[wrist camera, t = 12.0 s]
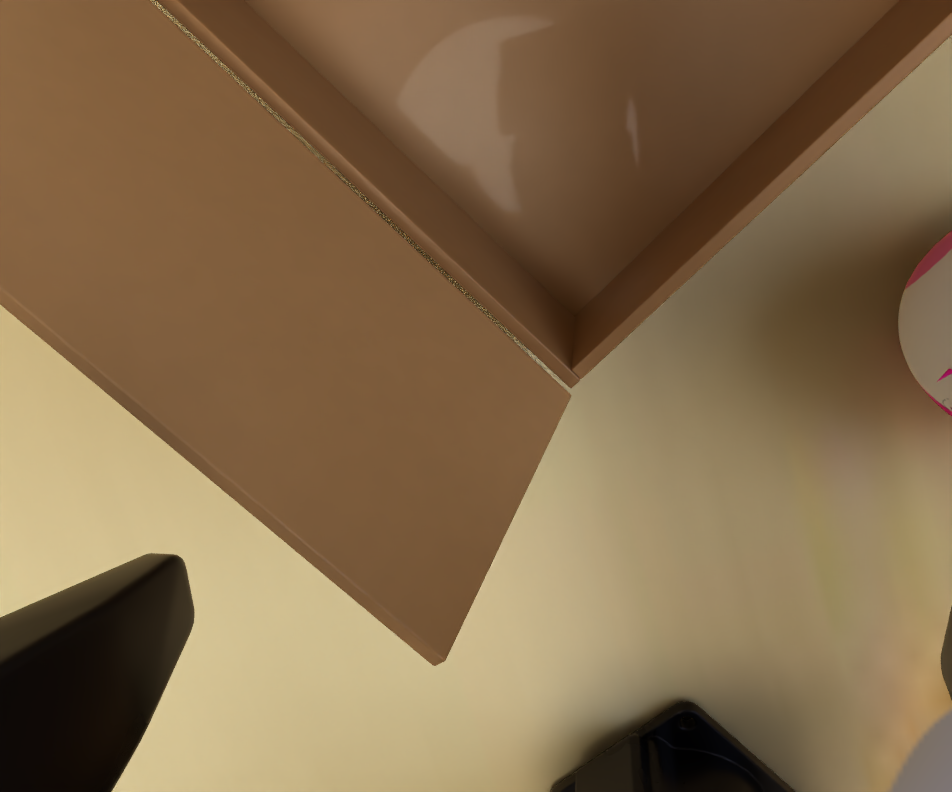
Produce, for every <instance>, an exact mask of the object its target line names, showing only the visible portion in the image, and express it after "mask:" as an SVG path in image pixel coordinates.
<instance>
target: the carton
mask: <svg viewBox="0 0 952 792" xmlns="http://www.w3.org/2000/svg"><path fill="white" fill-rule="evenodd" d="M157 1H158V2H159V3H160V4H161V5H162V6H163V7H164V8H165V9H166V10H167V11H168V12H170V13H171V14H172V15H173V16H174V17H175V18H176V19H177V20H178V21H179V22H180V23H181V24H182V25H183V26H184V27H186V28H187V29H188V30H189V31H190V32H191V33H192V34H193V35H194V36H195V37H196V38H197V39H198V40H199V41H200V42H202V43H203V44H204V45H205V46H206V47H207V48H208V49H209V50H210V51H211V52H212V53H213V54H214V55H215V56H216V57H218V58H219V59H220V60H221V61H222V62H223V63H224V64H225V65H226V66H227V67H228V68H229V69H230V70H231V71H232V72H234V73H235V74H236V75H237V76H238V77H239V78H240V79H241V80H242V81H243V82H244V83H245V84H246V85H247V86H248V87H250V88H251V89H252V90H253V91H254V92H255V93H256V94H257V95H258V96H259V97H260V98H261V99H262V100H263V101H264V102H266V103H267V104H268V105H269V106H270V107H271V108H272V109H273V110H274V111H275V112H276V113H277V114H278V115H279V116H280V117H282V118H283V119H284V120H285V121H286V122H287V123H288V124H289V125H290V126H291V127H292V128H293V129H294V130H295V131H296V132H298V133H299V134H300V135H301V136H302V137H303V138H304V139H305V140H306V141H307V142H308V143H309V144H310V145H311V146H312V147H314V148H315V149H316V150H317V151H318V152H319V153H320V154H321V155H322V156H323V157H324V158H325V159H326V160H327V161H328V162H330V163H331V164H332V165H333V166H334V167H335V168H336V169H337V170H338V171H339V172H340V173H341V174H342V175H343V176H344V177H346V178H347V179H348V180H349V181H350V182H351V183H352V184H353V185H354V186H355V187H356V188H357V189H358V190H359V191H360V192H362V193H363V194H364V195H365V196H366V197H367V198H368V199H369V200H370V201H371V202H372V203H373V204H374V205H375V206H376V207H378V208H379V209H380V210H381V211H382V212H383V213H384V214H385V215H386V216H387V217H388V218H389V219H390V220H391V221H392V222H394V223H395V224H396V225H397V226H398V227H399V228H400V229H401V230H402V231H403V232H404V233H405V234H406V235H407V236H408V237H410V238H411V239H412V240H413V241H414V242H415V243H416V244H417V245H418V246H419V247H420V248H421V249H422V250H423V251H424V252H426V253H427V254H428V255H429V256H430V257H431V258H432V259H433V260H434V261H435V262H436V263H437V264H438V265H439V266H440V267H442V268H443V269H444V270H445V271H446V272H447V273H448V274H449V275H450V276H451V277H452V278H453V279H454V280H455V281H456V282H458V283H459V284H460V285H461V286H462V287H463V288H464V289H465V290H466V291H467V292H468V293H469V294H470V295H471V296H472V297H474V298H475V299H476V300H477V301H478V302H479V303H480V304H481V305H482V306H483V307H484V308H485V309H486V310H487V311H488V312H490V313H491V314H492V315H493V316H494V317H495V318H496V319H497V320H498V321H499V322H500V323H501V324H502V325H503V326H504V327H506V328H507V329H508V330H509V331H510V332H511V333H512V334H513V335H514V336H515V337H516V338H517V339H518V340H519V341H520V342H522V343H523V344H524V345H525V346H526V347H527V348H528V349H529V350H530V351H531V352H532V353H533V354H534V355H535V356H536V357H538V358H539V359H540V360H541V361H542V362H543V363H544V364H545V365H546V366H547V367H548V368H549V369H550V370H551V371H552V372H554V373H555V374H556V375H557V376H558V377H559V378H560V379H561V380H562V381H563V382H564V383H565V384H566V385H567V386H568V387H570V388H572V387H573V386H574V385H576V384H577V383H578V382H579V381H580V379H582V378H583V377H584V376H585V375H586V374H587V373H588V372H589V371H591V370H592V369H593V368H594V367H595V366H596V365H597V364H598V363H599V362H600V361H601V360H602V359H603V358H605V357H606V356H607V355H608V354H609V353H610V352H611V351H612V350H613V349H614V348H615V347H616V346H617V345H619V344H620V343H621V342H622V341H623V340H624V339H625V338H626V337H627V336H628V335H629V334H630V333H631V332H633V331H634V330H635V329H636V328H637V327H638V326H639V325H640V324H641V323H642V322H643V321H644V320H645V319H646V318H648V317H649V316H650V315H651V314H652V313H653V312H654V311H655V310H656V309H657V308H658V307H659V306H660V305H662V304H663V303H664V302H665V301H666V300H667V299H668V298H669V297H670V296H671V295H672V294H673V293H674V292H676V291H677V290H678V289H679V288H680V287H681V286H682V285H683V284H684V283H685V282H686V281H687V280H688V279H690V278H691V277H692V276H693V275H694V274H695V273H696V272H697V271H698V270H699V269H700V268H701V267H702V266H704V265H705V264H706V263H707V262H708V261H709V260H710V259H711V258H712V257H713V256H714V255H715V254H716V253H717V252H719V251H720V250H721V249H722V248H723V247H724V246H725V245H726V244H727V243H728V242H729V241H730V240H731V239H733V238H734V237H735V236H736V235H737V234H738V233H739V232H740V231H741V230H742V229H743V228H744V227H745V226H747V225H748V224H749V223H750V222H751V221H752V220H753V219H754V218H755V217H756V216H757V215H758V214H759V213H761V212H762V211H763V210H764V209H765V208H766V207H767V206H768V205H769V204H770V203H771V202H772V201H773V200H774V199H776V198H777V197H778V196H779V195H780V194H781V193H782V192H783V191H784V190H785V189H786V188H787V187H788V186H790V185H791V184H792V183H793V182H794V181H795V180H796V179H797V178H798V177H799V176H800V175H801V174H802V173H804V172H805V171H806V170H807V169H808V168H809V167H810V166H811V165H812V164H813V163H814V162H815V161H816V160H818V159H819V158H820V157H821V156H822V155H823V154H824V153H825V152H826V151H827V150H828V149H829V148H830V147H832V146H833V145H834V144H835V143H836V142H837V141H838V140H839V139H840V138H841V137H842V136H843V135H844V134H845V133H847V132H848V131H849V130H850V129H851V128H852V127H853V126H854V125H855V124H856V123H857V122H858V121H859V120H861V119H862V118H863V117H864V116H865V115H866V114H867V113H868V112H869V111H870V110H871V109H872V108H873V107H875V106H876V105H877V104H878V103H879V102H880V101H881V100H882V99H883V98H884V97H885V96H886V95H887V94H889V93H890V92H891V91H892V90H893V89H894V88H895V87H896V86H897V85H898V84H899V83H900V82H901V81H902V80H904V79H905V78H906V77H907V76H908V75H909V74H910V73H911V72H912V71H913V70H914V69H915V68H916V67H918V66H919V65H920V64H921V63H922V62H923V61H924V60H925V59H926V58H927V57H928V56H929V55H930V54H932V53H933V52H934V51H935V50H936V49H937V48H938V47H939V46H940V45H941V44H942V43H943V42H944V41H946V40H947V39H948V38H949V37H950V36H951V35H952V0H157Z"/></svg>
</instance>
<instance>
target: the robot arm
mask: <svg viewBox="0 0 952 792" xmlns="http://www.w3.org/2000/svg"><path fill="white" fill-rule="evenodd" d="M193 623H194V605H193V600H192V595H191V590H190V585H189V580H188V575H187V570H186V566H185V563H184V561H183V559H182V558H181V557H179V556H178V555H173V554H153V553H151V554H146V555H143V556H141V557H139V558H136V559H134V560H132V561H129V562H127V563H125V564H122V565H120V566H118V567H116V568H113V569H111V570H109V571H106V572H104V573H102V574H99V575H97V576H95V577H93V578H90V579H88V580H86V581H83V582H81V583H79V584H76V585H74V586H72V587H70V588H67V589H65V590H63V591H60V592H58V593H56V594H53V595H51V596H49V597H47V598H44V599H42V600H40V601H37V602H35V603H33V604H30V605H28V606H26V607H24V608H21V609H19V610H17V611H14V612H12V613H10V614H7V615H5V616H3V617H1V618H0V792H112V790H113V788H114V787H115V785H116V783H117V781H118V780H119V778H120V776H121V775H122V773H123V771H124V769H125V768H126V766H127V764H128V762H129V761H130V759H131V757H132V755H133V754H134V752H135V750H136V748H137V746H138V744H139V743H140V741H141V739H142V737H143V735H144V733H145V731H146V729H147V727H148V725H149V723H150V721H151V719H152V716H153V714H154V712H155V710H156V708H157V705H158V703H159V701H160V699H161V697H162V694H163V692H164V690H165V688H166V686H167V683H168V681H169V679H170V677H171V674H172V672H173V670H174V668H175V666H176V663H177V661H178V659H179V657H180V655H181V652H182V650H183V648H184V646H185V644H186V641H187V639H188V637H189V635H190V633H191V630H192V627H193ZM941 669H942V674H943V678H944V681H945V683H946V686H947V689H948V691H949V694H950V697H951V699H952V607H951V611H950V616H949V620H948V625H947V629H946V634H945V639H944V643H943V648H942V653H941ZM683 717H691V718H692V719H689V720H683V719H681V718H683ZM550 792H795V791H794V790H793V789H792V788H791V787H790V786H788V785H787V784H786V783H785V782H784V781H783V780H782V779H781V778H779V777H778V776H777V775H776V774H775V773H774V772H773V771H771V770H770V769H769V768H768V767H767V766H766V765H765V764H764V763H762V762H761V761H760V760H759V759H758V758H757V757H756V756H755V755H753V754H752V753H751V752H750V751H749V750H748V749H747V748H745V747H744V746H743V745H742V744H741V743H740V742H739V741H738V740H736V739H735V738H734V737H733V736H732V735H731V734H730V733H728V732H727V731H726V730H725V729H724V728H723V727H722V726H721V725H719V724H718V723H717V722H716V721H715V720H714V719H713V718H712V717H710V716H709V715H708V714H707V713H706V712H705V711H704V710H702V709H701V708H700V707H699V706H698V705H696V704H695V703H693V702H688V701H684V702H679V703H677V704H675V705H673V706H672V707H670V708H669V709H667V710H666V711H664V712H663V713H662V714H660V715H659V716H657V717H656V718H654V719H653V720H651V721H650V722H648V723H647V724H645V725H644V726H642V727H641V728H640V729H638V730H637V731H635V732H634V733H632V734H631V735H628V736H626V737H625V738H623V739H622V740H620V741H619V742H618V743H616V744H615V745H613V746H612V747H610V748H609V749H607V750H606V751H604V752H603V753H601V754H600V755H598V756H597V757H596V758H594V759H593V760H591V761H590V762H588V763H587V764H585V765H584V766H582V767H581V768H579V769H578V770H577V771H576V772H575V773H574V774H572V775H571V776H569V777H568V778H566V779H565V780H563V781H562V782H560V783H559V784H557V785H556V786H555V787H553V788H552V789H551V790H550Z"/></svg>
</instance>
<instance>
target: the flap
mask: <svg viewBox="0 0 952 792" xmlns="http://www.w3.org/2000/svg"><path fill="white" fill-rule="evenodd" d="M0 305H2V306H3V307H4V308H5V309H6V310H8V311H9V312H10V313H11V314H12V315H14V316H15V317H16V318H17V319H18V320H20V321H21V322H22V323H23V324H24V325H26V326H27V327H28V328H29V329H30V330H32V331H33V332H34V333H35V334H36V335H38V336H39V337H40V338H41V339H42V340H44V341H45V342H46V343H47V344H48V345H50V346H51V347H52V348H53V349H54V350H56V351H57V352H58V353H59V354H60V355H62V356H63V357H64V358H65V359H66V360H68V361H69V362H70V363H71V364H72V365H74V366H75V367H76V368H77V369H78V370H80V371H81V372H82V373H83V374H84V375H86V376H87V377H88V378H89V379H90V380H92V381H93V382H94V383H95V384H96V385H98V386H99V387H100V388H101V389H102V390H104V391H105V392H106V393H107V394H108V395H110V396H111V397H112V398H113V399H114V400H116V401H117V402H118V403H119V404H120V405H122V406H123V407H124V408H125V409H126V410H127V411H129V412H130V413H131V414H132V415H133V416H135V417H136V418H137V419H138V420H139V421H141V422H142V423H143V424H144V425H145V426H147V427H148V428H149V429H150V430H151V431H153V432H154V433H155V434H156V435H157V436H159V437H160V438H161V439H162V440H163V441H165V442H166V443H167V444H168V445H169V446H171V447H172V448H173V449H174V450H175V451H177V452H178V453H179V454H180V455H181V456H183V457H184V458H185V459H186V460H187V461H189V462H190V463H191V464H192V465H193V466H195V467H196V468H197V469H198V470H199V471H201V472H202V473H203V474H204V475H205V476H207V477H208V478H209V479H210V480H211V481H213V482H214V483H215V484H216V485H217V486H219V487H220V488H221V489H222V490H223V491H225V492H226V493H227V494H228V495H229V496H231V497H232V498H233V499H234V500H235V501H237V502H238V503H239V504H240V505H241V506H243V507H244V508H245V509H246V510H247V511H249V512H250V513H251V514H252V515H253V516H255V517H256V518H257V519H258V520H259V521H261V522H262V523H263V524H264V525H265V526H267V527H268V528H269V529H270V530H271V531H273V532H274V533H275V534H276V535H277V536H278V537H280V538H281V539H282V540H283V541H284V542H286V543H287V544H288V545H289V546H290V547H292V548H293V549H294V550H295V551H296V552H298V553H299V554H300V555H301V556H302V557H304V558H305V559H306V560H307V561H308V562H310V563H311V564H312V565H313V566H314V567H316V568H317V569H318V570H319V571H320V572H322V573H323V574H324V575H325V576H326V577H328V578H329V579H330V580H331V581H332V582H334V583H335V584H336V585H337V586H338V587H340V588H341V589H342V590H343V591H344V592H346V593H347V594H348V595H349V596H350V597H352V598H353V599H354V600H355V601H356V602H358V603H359V604H360V605H361V606H362V607H364V608H365V609H366V610H367V611H368V612H370V613H371V614H372V615H373V616H374V617H376V618H377V619H378V620H379V621H380V622H382V623H383V624H384V625H385V626H386V627H388V628H389V629H390V630H391V631H392V632H394V633H395V634H396V635H397V636H398V637H400V638H401V639H402V640H403V641H404V642H406V643H407V644H408V645H409V646H410V647H412V648H413V649H414V650H415V651H416V652H418V653H419V654H420V655H421V656H422V657H423V658H425V659H426V660H427V661H428V662H429V663H431V664H432V665H434V666H436V665H438V664H440V663H442V662H444V661H445V660H446V658H447V656H448V654H449V652H450V650H451V647H452V645H453V643H454V641H455V639H456V637H457V635H458V633H459V631H460V629H461V626H462V624H463V622H464V620H465V618H466V616H467V614H468V612H469V610H470V608H471V605H472V603H473V601H474V599H475V597H476V595H477V593H478V591H479V589H480V587H481V584H482V582H483V580H484V578H485V576H486V574H487V572H488V570H489V568H490V566H491V563H492V561H493V559H494V557H495V555H496V553H497V551H498V549H499V547H500V545H501V542H502V540H503V538H504V536H505V534H506V532H507V530H508V528H509V526H510V524H511V521H512V519H513V517H514V515H515V513H516V511H517V509H518V507H519V505H520V503H521V500H522V498H523V496H524V494H525V492H526V490H527V488H528V486H529V484H530V482H531V480H532V477H533V475H534V473H535V471H536V469H537V467H538V465H539V463H540V461H541V459H542V456H543V454H544V452H545V450H546V448H547V446H548V444H549V442H550V440H551V438H552V435H553V433H554V431H555V429H556V427H557V425H558V423H559V421H560V419H561V417H562V414H563V412H564V410H565V408H566V406H567V404H568V402H569V400H570V398H571V394H569V393H568V392H567V391H566V390H565V389H564V388H563V387H562V386H561V385H560V384H559V383H558V382H557V381H556V380H555V379H553V378H552V377H551V376H550V375H549V374H548V373H547V372H546V371H545V370H544V369H543V368H542V367H541V366H540V365H538V364H537V363H536V362H535V361H534V360H533V359H532V358H531V357H530V356H529V355H528V354H527V353H526V352H525V351H524V350H522V349H521V348H520V347H519V346H518V345H517V344H516V343H515V342H514V341H513V340H512V339H511V338H510V337H509V336H508V335H506V334H505V333H504V332H503V331H502V330H501V329H500V328H499V327H498V326H497V325H496V324H495V323H494V322H493V321H491V320H490V319H489V318H488V317H487V316H486V315H485V314H484V313H483V312H482V311H481V310H480V309H479V308H478V307H477V306H475V305H474V304H473V303H472V302H471V301H470V300H469V299H468V298H467V297H466V296H465V295H464V294H463V293H462V292H460V291H459V290H458V289H457V288H456V287H455V286H454V285H453V284H452V283H451V282H450V281H449V280H448V279H447V278H446V277H444V276H443V275H442V274H441V273H440V272H439V271H438V270H437V269H436V268H435V267H434V266H433V265H432V264H431V263H429V262H428V261H427V260H426V259H425V258H424V257H423V256H422V255H421V254H420V253H419V252H418V251H417V250H416V249H415V248H413V247H412V246H411V245H410V244H409V243H408V242H407V241H406V240H405V239H404V238H403V237H402V236H401V235H400V234H399V233H397V232H396V231H395V230H394V229H393V228H392V227H391V226H390V225H389V224H388V223H387V222H386V221H385V220H384V219H382V218H381V217H380V216H379V215H378V214H377V213H376V212H375V211H374V210H373V209H372V208H371V207H370V206H369V205H368V204H366V203H365V202H364V201H363V200H362V199H361V198H360V197H359V196H358V195H357V194H356V193H355V192H354V191H353V190H351V189H350V188H349V187H348V186H347V185H346V184H345V183H344V182H343V181H342V180H341V179H340V178H339V177H338V176H337V175H335V174H334V173H333V172H332V171H331V170H330V169H329V168H328V167H327V166H326V165H325V164H324V163H323V162H322V161H321V160H319V159H318V158H317V157H316V156H315V155H314V154H313V153H312V152H311V151H310V150H309V149H308V148H307V147H306V146H304V145H303V144H302V143H301V142H300V141H299V140H298V139H297V138H296V137H295V136H294V135H293V134H292V133H291V132H290V131H288V130H287V129H286V128H285V127H284V126H283V125H282V124H281V123H280V122H279V121H278V120H277V119H276V118H275V117H273V116H272V115H271V114H270V113H269V112H268V111H267V110H266V109H265V108H264V107H263V106H262V105H261V104H260V103H259V102H257V101H256V100H255V99H254V98H253V97H252V96H251V95H250V94H249V93H248V92H247V91H246V90H245V89H244V88H242V87H241V86H240V85H239V84H238V83H237V82H236V81H235V80H234V79H233V78H232V77H231V76H230V75H229V74H228V73H226V72H225V71H224V70H223V69H222V68H221V67H220V66H219V65H218V64H217V63H216V62H215V61H214V60H213V59H212V58H210V57H209V56H208V55H207V54H206V53H205V52H204V51H203V50H202V49H201V48H200V47H199V46H198V45H197V44H195V43H194V42H193V41H192V40H191V39H190V38H189V37H188V36H187V35H186V34H185V33H184V32H183V31H182V30H181V29H179V28H178V27H177V26H176V25H175V24H174V23H173V22H172V21H171V20H170V19H169V18H168V17H167V16H166V15H164V14H163V13H162V12H161V11H160V10H159V9H158V8H157V7H156V6H155V5H154V4H153V3H152V2H151V1H150V0H0Z"/></svg>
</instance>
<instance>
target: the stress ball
mask: <svg viewBox="0 0 952 792" xmlns="http://www.w3.org/2000/svg"><path fill="white" fill-rule="evenodd" d="M898 331H899V339H900V344H901V348H902V351H903V355H904V357H905V359H906V362H907V364H908V366H909V368H910V370H911V372H912V374H913V375H914V377H915V379H916V380H917V382H918V383H919V384H920V386H921V387H922V388H923V390H924V391H925V392H926V393H927V394H928V395H929V396H930V398H931V399H932V400H933V401H934V402H935V403H936V404H937V405H938V406H940V407H941V408H942V409H943V410H944V411H945V412H947V413H948V414H949V415H951V416H952V231H951V232H949V233H948V234H947V235H946V236H944V237H943V238H942V239H941V240H940V241H939V242H938V243H936V244H935V245H934V246H933V247H932V248H931V250H930V251H929V252H928V253H927V254H926V255H925V256H924V258H923V259H922V260H921V261H920V262H919V263H918V265H917V267H916V268H915V270H914V272H913V273H912V275H911V277H910V279H909V280H908V282H907V284H906V287H905V290H904V293H903V295H902V299H901V303H900V308H899V315H898Z"/></svg>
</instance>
